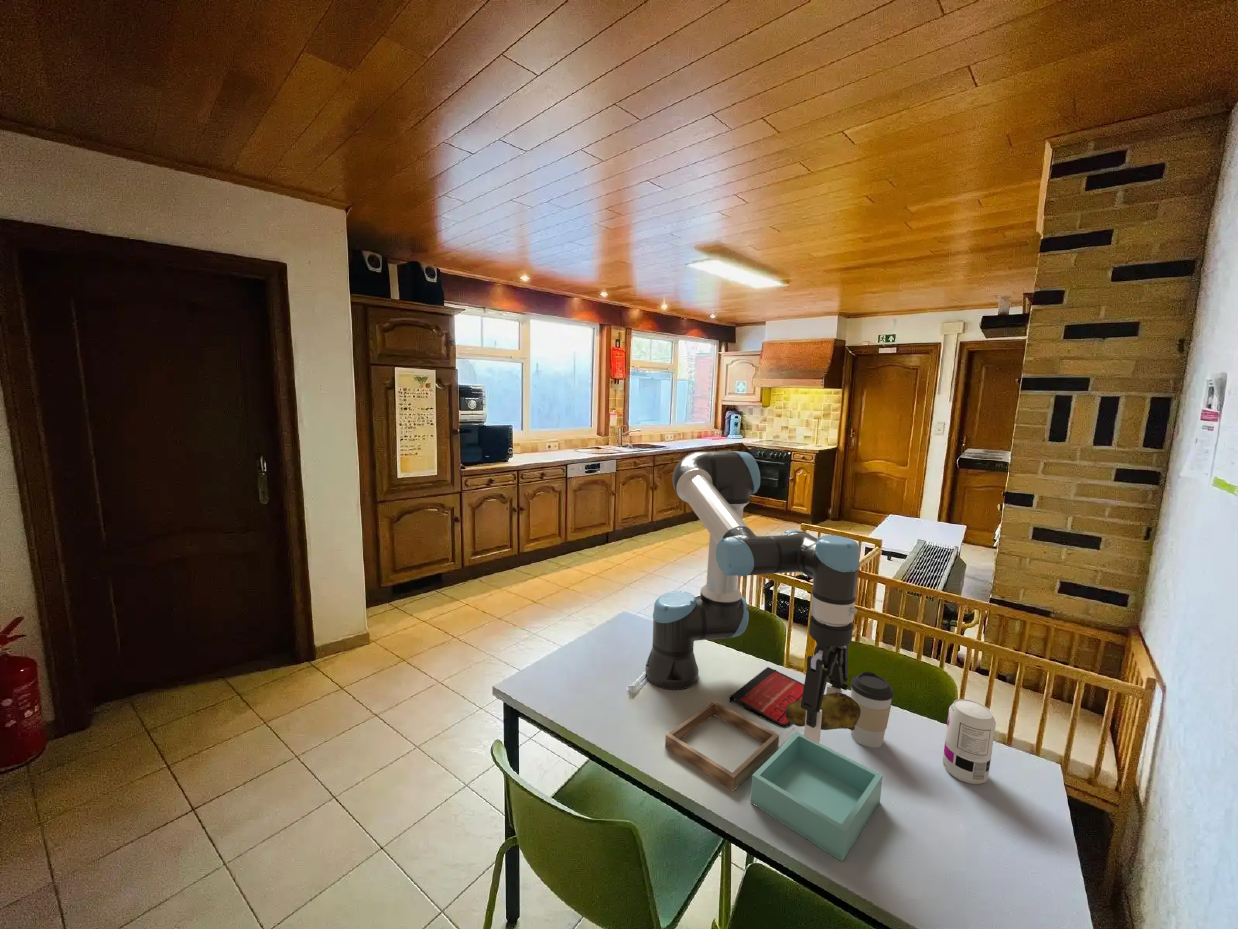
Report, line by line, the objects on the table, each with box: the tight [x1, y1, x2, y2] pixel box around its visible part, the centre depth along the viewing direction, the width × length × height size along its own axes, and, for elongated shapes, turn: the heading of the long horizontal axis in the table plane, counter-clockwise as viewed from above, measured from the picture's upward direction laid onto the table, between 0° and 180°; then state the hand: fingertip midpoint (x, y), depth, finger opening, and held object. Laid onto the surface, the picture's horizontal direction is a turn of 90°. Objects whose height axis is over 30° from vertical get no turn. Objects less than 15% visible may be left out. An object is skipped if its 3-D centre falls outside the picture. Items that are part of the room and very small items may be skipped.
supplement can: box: [942, 698, 997, 785], centre depth 110 cm, size 8×8×15 cm
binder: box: [729, 666, 804, 728], centre depth 137 cm, size 16×2×21 cm
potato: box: [785, 692, 861, 731], centre depth 99 cm, size 8×13×8 cm, turn 53°
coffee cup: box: [850, 671, 894, 748], centre depth 121 cm, size 9×9×15 cm
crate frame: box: [664, 700, 780, 791], centre depth 117 cm, size 18×19×3 cm
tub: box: [750, 731, 884, 863], centre depth 102 cm, size 18×19×6 cm
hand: (822, 728), depth 100 cm, fingers closed on potato, 8 cm apart
